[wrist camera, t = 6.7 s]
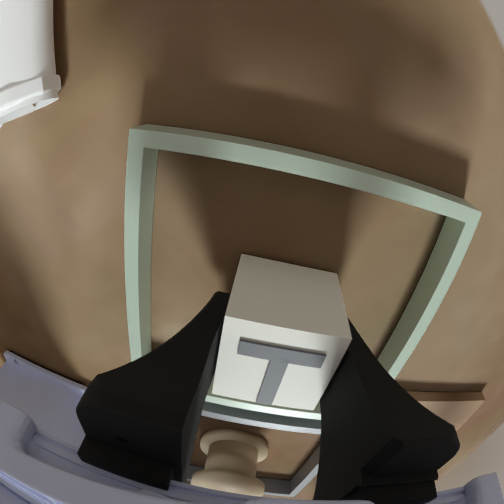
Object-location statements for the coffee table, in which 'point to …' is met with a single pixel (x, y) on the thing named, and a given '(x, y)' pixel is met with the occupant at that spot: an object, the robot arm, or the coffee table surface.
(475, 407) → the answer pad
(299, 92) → the coffee table surface
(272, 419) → the charcoal tray
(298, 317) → the letter cube
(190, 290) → the coffee table surface
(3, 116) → the knuckle duster
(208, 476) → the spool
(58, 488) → the robot arm
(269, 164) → the green tray
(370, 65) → the coffee table surface
